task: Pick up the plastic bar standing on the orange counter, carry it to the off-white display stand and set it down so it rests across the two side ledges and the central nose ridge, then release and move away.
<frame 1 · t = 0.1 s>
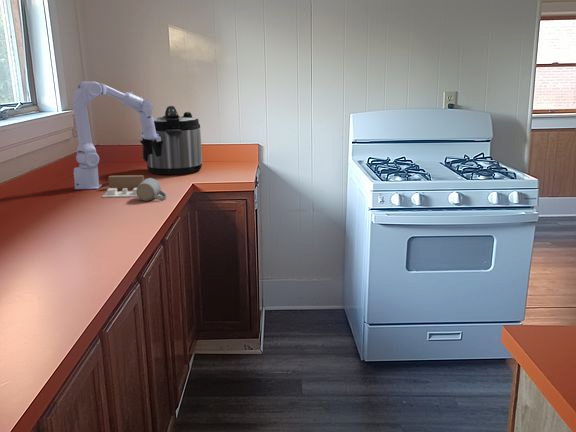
hand: (154, 155, 250), 11 cm above the counter, tool pointing down, fingers open, 7 cm apart
display stand: (125, 195, 217), on the counter
ceramic mug: (152, 199, 210), on the counter
pressure cooker: (173, 171, 269), on the counter
frame bar: (127, 188, 230), on the counter
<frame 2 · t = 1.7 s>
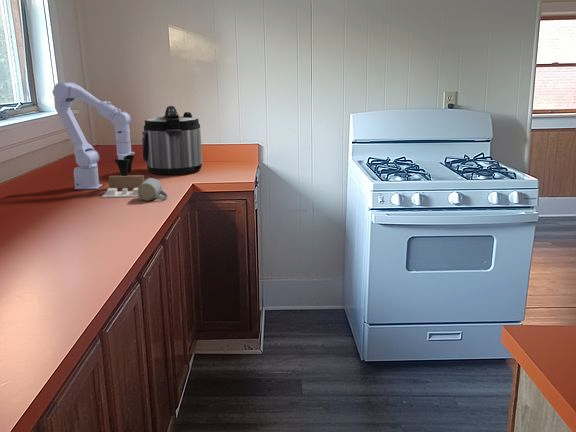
hand: (126, 174, 228), 6 cm above the counter, tool pointing down, fingers open, 7 cm apart
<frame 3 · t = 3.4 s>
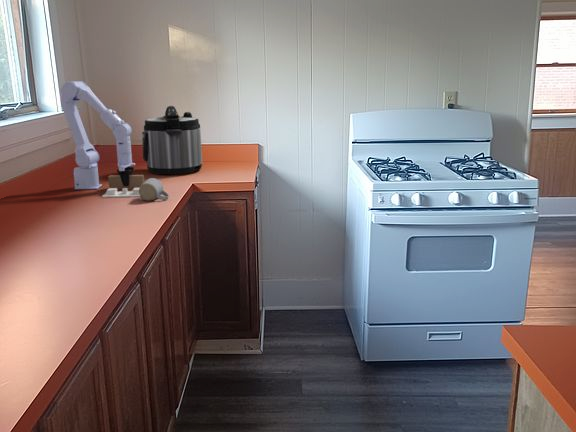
hand: (126, 185, 229), 1 cm above the counter, tool pointing down, fingers closed on frame bar, 3 cm apart
frame bar: (127, 188, 230), on the counter, touching gripper
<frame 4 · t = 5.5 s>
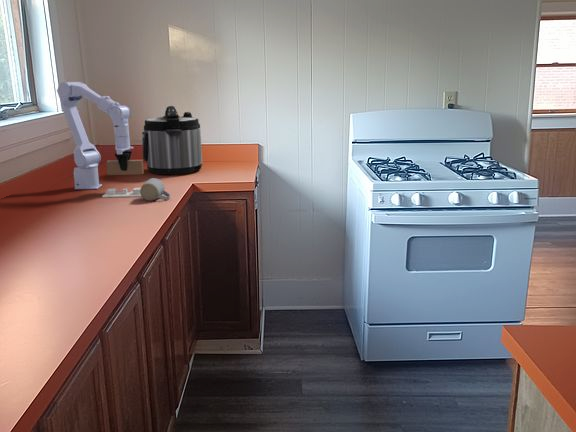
hand: (124, 169, 222), 9 cm above the counter, tool pointing down, fingers closed on frame bar, 3 cm apart
frame bar: (125, 173, 222), point 7 cm above the counter, touching gripper
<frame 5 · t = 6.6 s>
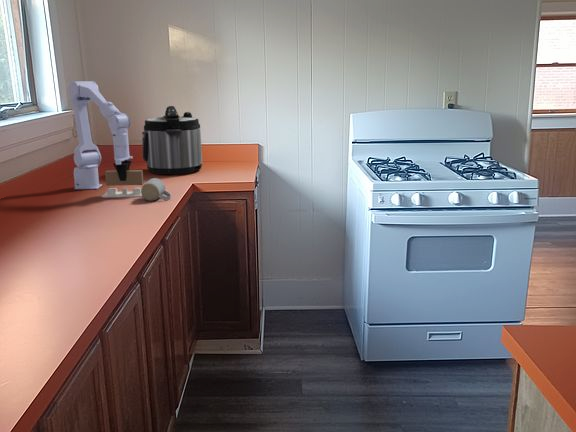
hand: (124, 179, 216), 6 cm above the counter, tool pointing down, fingers closed on frame bar, 3 cm apart
frame bar: (125, 184, 216), point 4 cm above the counter, touching gripper
when the fingers open (5 cm above the counter, at t = 7.6 s): frame bar stays where it is, resting on display stand.
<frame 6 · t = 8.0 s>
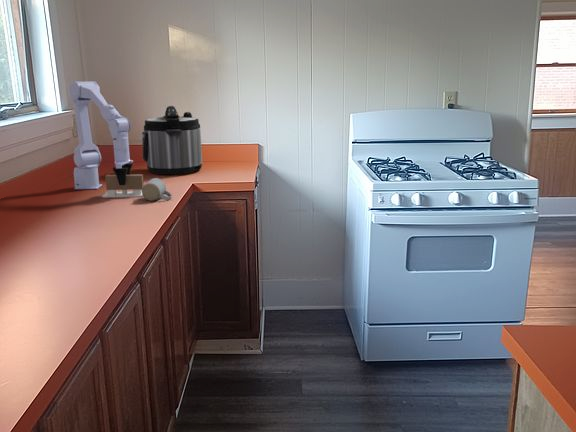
hand: (124, 183, 216), 5 cm above the counter, tool pointing down, fingers open, 6 cm apart
frame bar: (125, 188, 217), point 2 cm above the counter, touching display stand
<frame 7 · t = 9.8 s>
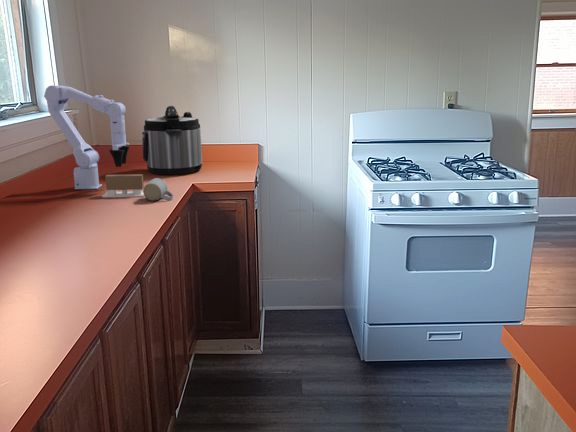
hand: (120, 165, 227), 10 cm above the counter, tool pointing down, fingers open, 7 cm apart
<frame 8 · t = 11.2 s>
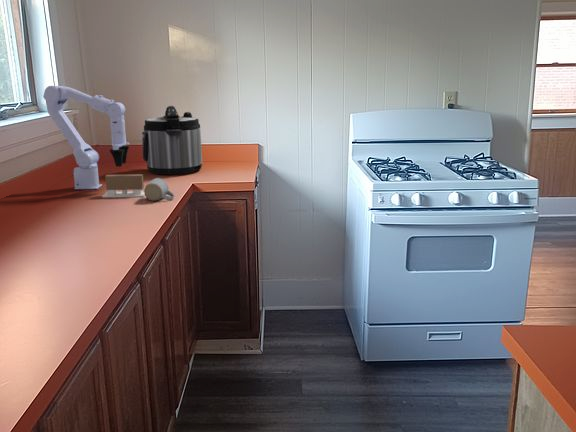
hand: (121, 164, 228), 10 cm above the counter, tool pointing down, fingers open, 7 cm apart
at the end: frame bar 0.3 cm off-centre on the display stand, point 2.5 cm above the display stand's base; frame bar tilted 0°; the gripper is holding nothing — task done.
